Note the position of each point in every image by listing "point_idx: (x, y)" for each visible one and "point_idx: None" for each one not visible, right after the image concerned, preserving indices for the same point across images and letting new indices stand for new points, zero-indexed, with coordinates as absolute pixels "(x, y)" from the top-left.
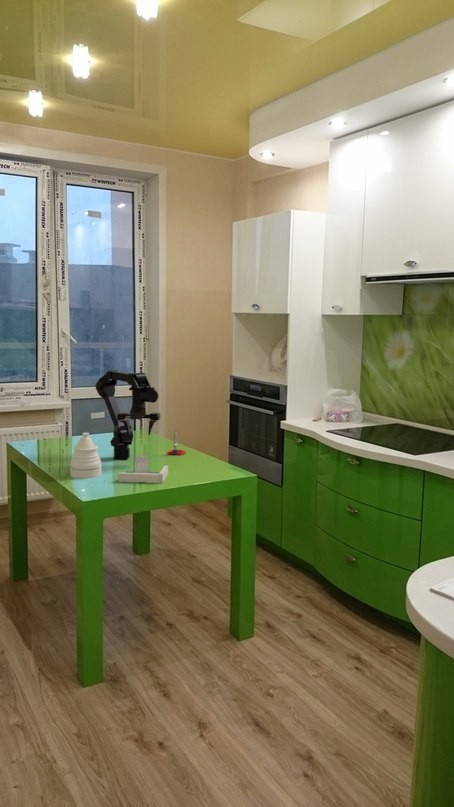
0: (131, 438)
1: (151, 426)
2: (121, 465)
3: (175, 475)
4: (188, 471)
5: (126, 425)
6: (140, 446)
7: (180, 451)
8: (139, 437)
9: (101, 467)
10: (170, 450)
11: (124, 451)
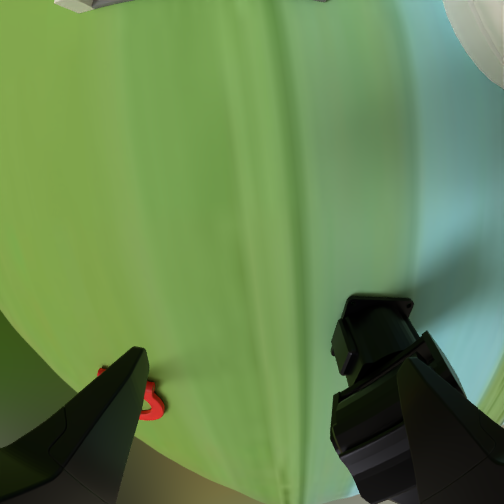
0: (345, 410)
1: (39, 429)
2: (376, 171)
3: (51, 2)
4: (5, 88)
5: (493, 440)
6: (285, 454)
7: None
8: (290, 492)
9: (463, 1)
10: (158, 413)
11: (370, 335)
